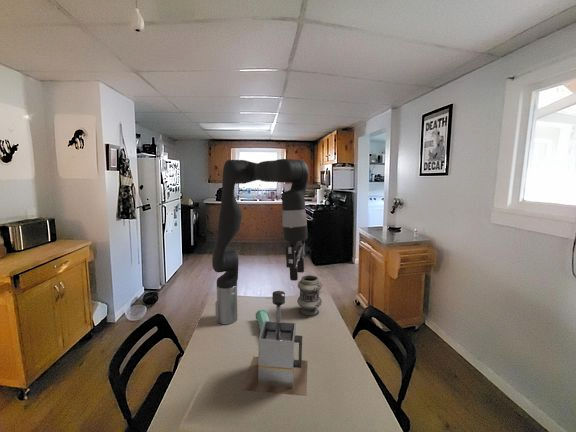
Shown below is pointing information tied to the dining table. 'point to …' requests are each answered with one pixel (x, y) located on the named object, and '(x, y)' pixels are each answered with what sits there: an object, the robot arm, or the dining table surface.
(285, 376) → the square mug
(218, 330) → the dining table surface
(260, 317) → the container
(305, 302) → the apothecary jar
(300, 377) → the walnut board
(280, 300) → the plunger
